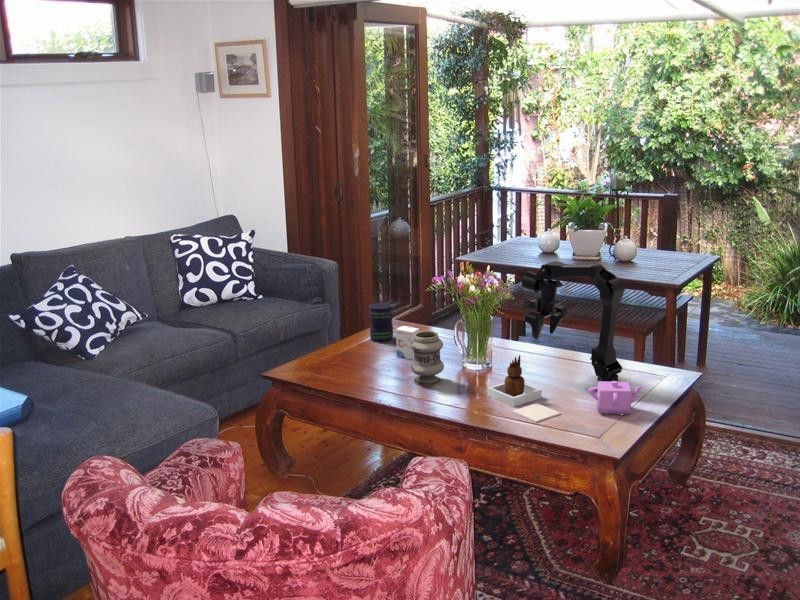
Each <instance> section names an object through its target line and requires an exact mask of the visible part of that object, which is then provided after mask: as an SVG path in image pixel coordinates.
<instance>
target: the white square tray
mask: <svg viewBox="0 0 800 600" xmlns="http://www.w3.org/2000/svg"><path fill="white" fill-rule="evenodd" d="M542 393H543V392H542V388H539V387H536V386H533V385H531V384H528V383H526V382H525V384H524V392H523V394H521V395H518V396H515V397H513V396H510V395H508V394H506V391H505V382H503V383H498V384H495V385H492V386H489V387H487V397H489V396H490V397H489V398H491V397H492V399H494V400H496V401H499V402H501V403H504V404H505V405H507V406H510V407H512V408H513V407H518V406H521V405H523V404H526V403H527V404H528V403H529V402H533V401H536V400H538V399H541V398H543V397H542V395H543V394H542Z"/></svg>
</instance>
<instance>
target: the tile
mask: <svg viewBox="0 0 800 600" xmlns="http://www.w3.org/2000/svg"><path fill="white" fill-rule="evenodd" d="M512 413H513V414H515V415H518V416H520V417H523V418H524V419H527V420H529V421H531V422H533V423H539V422H542V421H545V420H548V419H550V418H553V417H557V416H559V415H561V412H560V411H558V410H554V409H552V408H550V407H547V406H544V405H542V404H540V403H538V402H535V403H533V404H529V405H526V406H523V407H520V408H516V409H514V410H512Z"/></svg>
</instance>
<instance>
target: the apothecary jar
mask: <svg viewBox="0 0 800 600" xmlns="http://www.w3.org/2000/svg"><path fill="white" fill-rule="evenodd" d="M410 346H411V349H412V350H414V360H413V361H412V362H411V364H410V369H411V371H412V373H414V374H415V375H418V376H417V377H415V378H414V379H413V383H414V384H416V385H419V386H420V385H421V386H425V387H429V386H437V385H439V384H441V382H442V379H441V378H440V377H439V376H437V375H439V374H440V373H442V372H443V370H444V368H445V364H444V362H443V361H442V360H441V350H442V348H443V347H444V343H443V340H442V339H440V337H439V333H438V332H436V331H434V330H433V331H432V330H423V331H420V332H418V333H416V334H415V337H414V339H413V340H412V341H411V344H410ZM436 384H437V385H436Z"/></svg>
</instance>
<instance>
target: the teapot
mask: <svg viewBox="0 0 800 600" xmlns="http://www.w3.org/2000/svg"><path fill="white" fill-rule="evenodd" d="M597 381H598V380H597ZM644 388H646V386H645V385H638V386H637V387H635V389H634V392H633V393H632V390H631V389H632V388H631V386H630V382H629V381H618V382H617V381H611V382H606V381H598V387H597V386H593V387H589V388H588V390H587V391H588V394H589V395H590V396H591V397H592V398H593V399H595V400H596V405H597V409H598V410H597V413H598V414H603V415H610V414H615V415H616V414H617V415H619V414H624V415H631V411H632V409H631V408H632V404H633V403H634V402H636V400H637V398H638V395H639V392H640V391H641V390H642V389H644ZM595 390H598V391H596V392H597V395H596V394H595V392H594V391H595ZM609 413H610V414H609Z"/></svg>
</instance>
